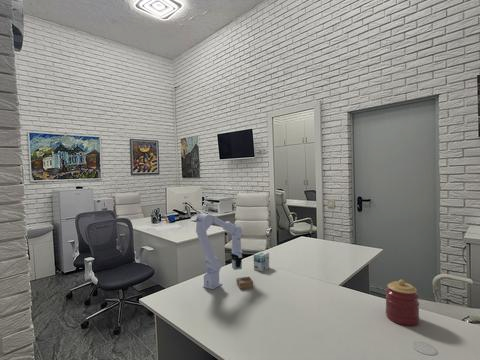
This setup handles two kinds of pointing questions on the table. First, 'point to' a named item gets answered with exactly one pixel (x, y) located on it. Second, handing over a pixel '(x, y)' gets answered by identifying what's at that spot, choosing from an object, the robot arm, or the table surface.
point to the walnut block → (244, 283)
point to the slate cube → (235, 265)
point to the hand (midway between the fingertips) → (236, 265)
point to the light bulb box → (261, 261)
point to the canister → (402, 303)
